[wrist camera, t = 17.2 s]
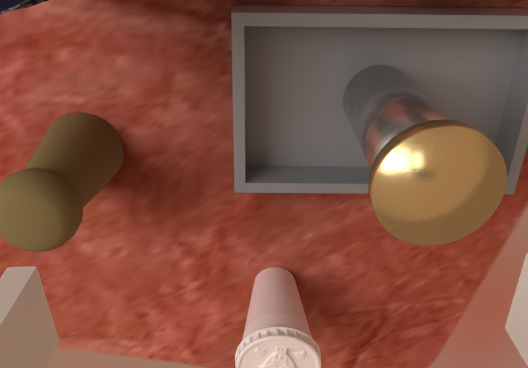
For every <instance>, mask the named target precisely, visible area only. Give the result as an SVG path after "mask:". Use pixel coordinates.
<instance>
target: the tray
mask: <svg viewBox="0 0 528 368" xmlns="http://www.w3.org/2000/svg"><path fill="white" fill-rule="evenodd" d="M231 28H232V84H233V140H234V193H366V194H368V177H369V172H370V167H369V165H368V162H367V160H366V158H365V156H364V154H363V151H362V149H361V147H360V145H359V143H358V140H357V138H356V136H355V134H354V132H353V129H352V127H351V125H350V123H349V121H348V119H347V116H346V114H345V112H344V108H343V95H344V91H345V89H346V86H347V85H348V83H349V81H350V80H351V79H352V78H353V77H354V76H355V75H356V74H357V73H358V72H360V71H361V70H363V69H365V68H367V67H370V66H374V65H387V66H391V67H394V68H396V69H398V70H399V71H401V72H402V73H403V74H404V75H405V76H406V77H407V78H408V79H409V80H410V81H411V82H412V83H413V84H414V85H415V86H416V87H417V88H418V89H419V90H420V92H421V93H422V94H423V95H424V96H425V97H426V98H427V99H428V100H429V101H430V102H431V103H432V104H433V105H434V106H435V107H436V108H437V109H438V110H439V111H440V112H441V113H442V114H443V115H444V116H445V117H446V118H447V119H448V120H455V121H460V122H463V123H466V124H469V125H471V126H473V127H475V128H476V129H478V130H479V131H480V132H482V133H483V134H484V135H485V136H486V137H487V138H488V139H489V140H490V141H492V143H493V144H494V145H495V146H496V147H497V148H498V149H499V151H500V152H501V154H502V156H503V158H504V161H505V165H506V170H507V184H506V189H505V193H504V194H514V192H515V189H516V185H517V182H518V178H519V175H520V171H521V167H522V164H523V160H524V157H525V153H526V149H527V146H528V8H496V7H408V6H321V5H234V6H233V9H232V12H231Z"/></svg>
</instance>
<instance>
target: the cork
mask: <svg viewBox="0 0 528 368" xmlns="http://www.w3.org/2000/svg"><path fill="white" fill-rule="evenodd" d="M123 160H124V148H123V144H122V140H121V139H120V137H119V135H118V134H117V132H116V130H115V129H114V128H113V127H112V126H110V125H109V124H108V123H107V122H106V121H104V120H103V119H101V118H99V117H97V116H95V115H91V114H86V113H81V112H80V113H70V114H67V115H64V116H62V117H60V118H58V119H57V120H56V121H55V122H54V123H53V124H52V125H51V126H50V127H49V129H48V131H47V132H46V134H45V136H44V137H43V139H42V141H41V142H40V144H39V146H38V147H37V149H36V151H35V152H34V154H33V156H32V157H31V159H30V161H29V162H28V164H27V166H26V167H25V169H23V170H21V171H18V172H16V173H14V174H11V175H9V176H8V177H7V178H6V179H5V180H4V181H3V182H2V183H1V184H0V236H1V237H2V238H3V239H4V240H6V241H7V242H8V243H10V244H11V245H13V246H15V247H17V248H20V249H22V250H26V251H32V252H40V251H49V250H52V249H55V248H57V247H60V246H62V245H63V244H64V243H66V242H67V241H68V240H69V239H70V238H71V237H73V236H74V234H75V233H76V231H77V229H78V227H79V225H80V223H81V221H82V213H83V207H84V206H85V205H86V204H87V203H88V202H89V201H90V200H91V199H92V198H93V197H94V196H95V195H96V194H97V193H98V192H99V191H100V190H101V189H102V188H103V187H104V186H105V185H106V184H107V183H108V182H109V181H110V180H111V179H112V178H113V177H114V176H115V175H116V174H117V173H118V172H119V170H120V168H121V166H122V164H123Z"/></svg>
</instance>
